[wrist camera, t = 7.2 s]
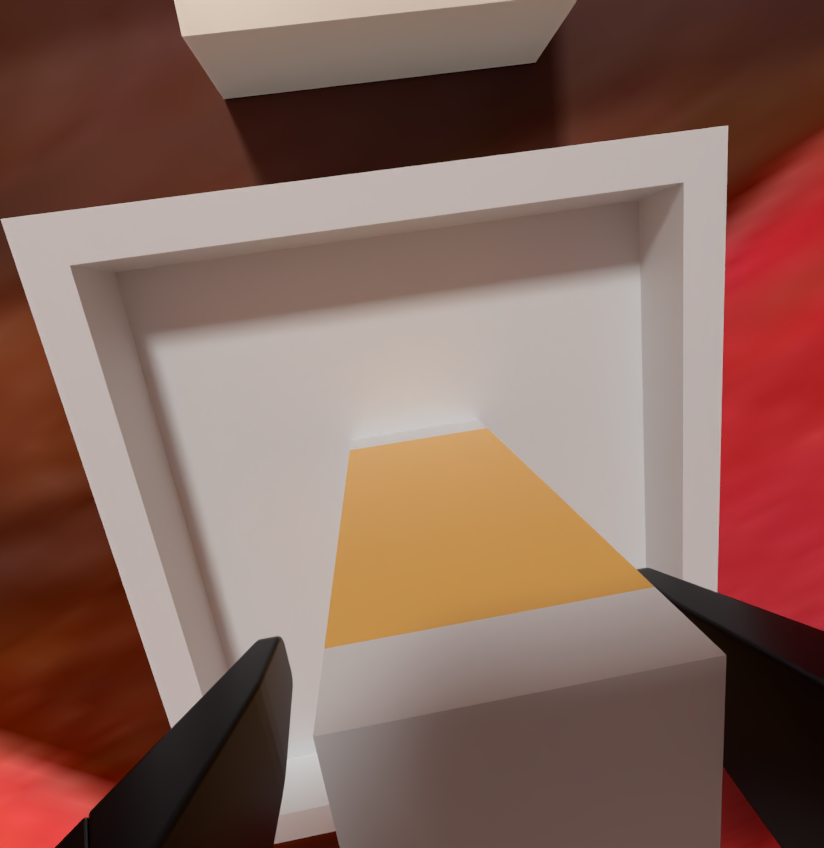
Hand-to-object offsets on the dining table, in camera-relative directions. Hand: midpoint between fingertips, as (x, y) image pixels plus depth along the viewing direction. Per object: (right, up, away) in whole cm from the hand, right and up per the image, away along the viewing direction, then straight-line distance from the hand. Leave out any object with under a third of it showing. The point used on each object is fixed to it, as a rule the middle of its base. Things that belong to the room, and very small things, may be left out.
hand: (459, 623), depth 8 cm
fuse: (0, +1, +5) cm, 5 cm away
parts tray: (-1, +1, +5) cm, 5 cm away
